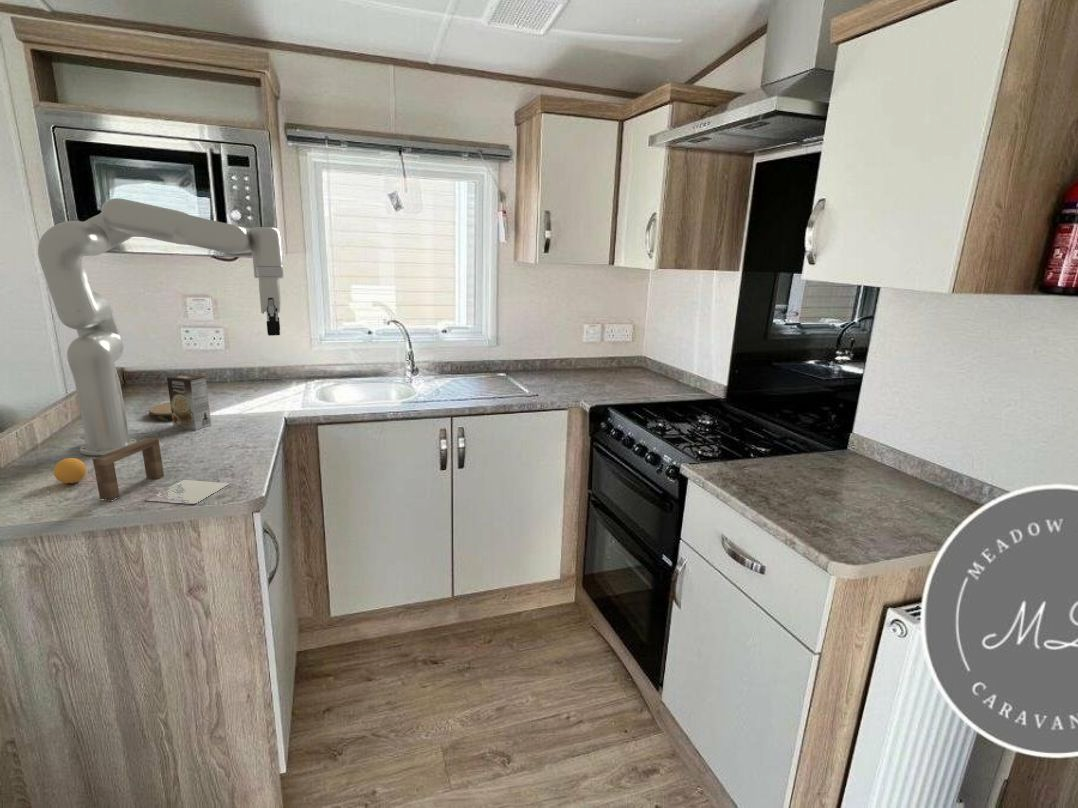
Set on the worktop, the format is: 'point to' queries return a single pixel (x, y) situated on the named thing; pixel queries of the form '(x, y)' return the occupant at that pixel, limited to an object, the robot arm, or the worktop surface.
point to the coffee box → (189, 401)
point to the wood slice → (161, 412)
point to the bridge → (106, 462)
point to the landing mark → (195, 490)
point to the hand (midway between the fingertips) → (274, 332)
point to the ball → (70, 470)
